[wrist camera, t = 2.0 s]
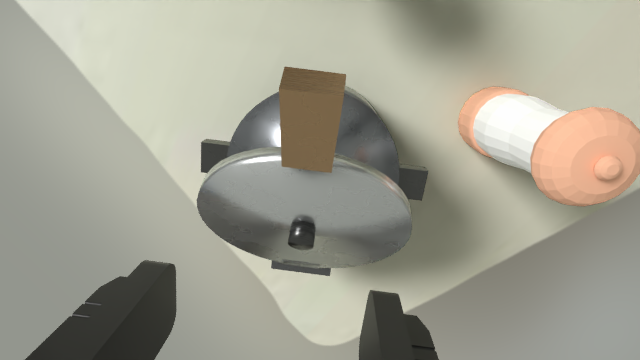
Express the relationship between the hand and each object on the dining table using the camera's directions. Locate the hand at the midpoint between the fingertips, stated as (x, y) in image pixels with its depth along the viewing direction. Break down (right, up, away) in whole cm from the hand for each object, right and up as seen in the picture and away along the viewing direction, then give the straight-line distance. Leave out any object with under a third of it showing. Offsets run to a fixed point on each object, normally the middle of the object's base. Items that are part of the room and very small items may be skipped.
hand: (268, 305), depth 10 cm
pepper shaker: (+21, +10, +31) cm, 39 cm away
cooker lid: (0, +2, +17) cm, 17 cm away
